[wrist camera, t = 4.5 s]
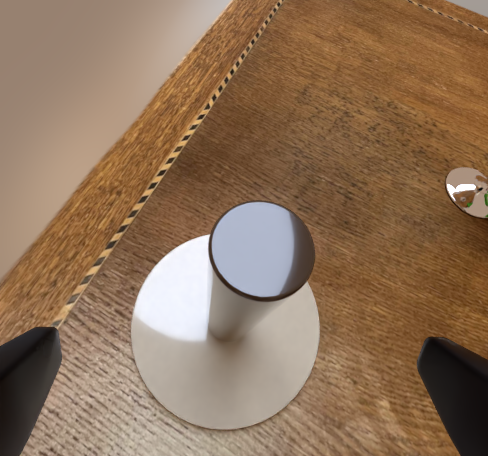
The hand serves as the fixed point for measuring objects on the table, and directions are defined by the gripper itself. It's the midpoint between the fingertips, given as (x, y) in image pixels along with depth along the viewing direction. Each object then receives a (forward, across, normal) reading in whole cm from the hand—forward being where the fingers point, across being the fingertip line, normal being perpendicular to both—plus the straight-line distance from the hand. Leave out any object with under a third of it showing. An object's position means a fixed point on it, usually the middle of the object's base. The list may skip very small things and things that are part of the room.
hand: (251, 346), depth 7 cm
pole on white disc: (+8, 0, +5) cm, 9 cm away
